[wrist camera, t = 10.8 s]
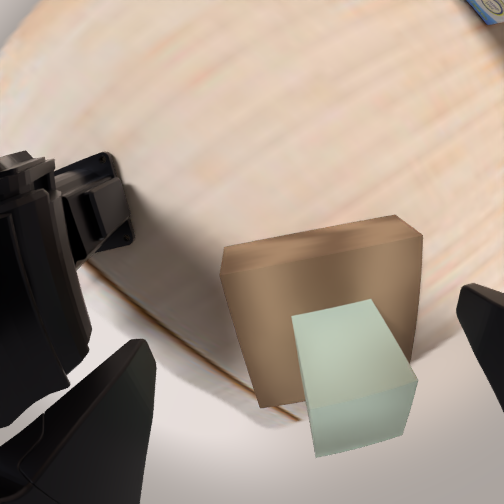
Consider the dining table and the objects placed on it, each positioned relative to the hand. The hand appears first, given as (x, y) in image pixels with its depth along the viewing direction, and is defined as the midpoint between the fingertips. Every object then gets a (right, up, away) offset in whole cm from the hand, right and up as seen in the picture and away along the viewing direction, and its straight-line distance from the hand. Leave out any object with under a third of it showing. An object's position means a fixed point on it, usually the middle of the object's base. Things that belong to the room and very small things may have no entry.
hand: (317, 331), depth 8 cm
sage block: (+4, -4, +11) cm, 12 cm away
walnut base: (+4, -2, +15) cm, 15 cm away
